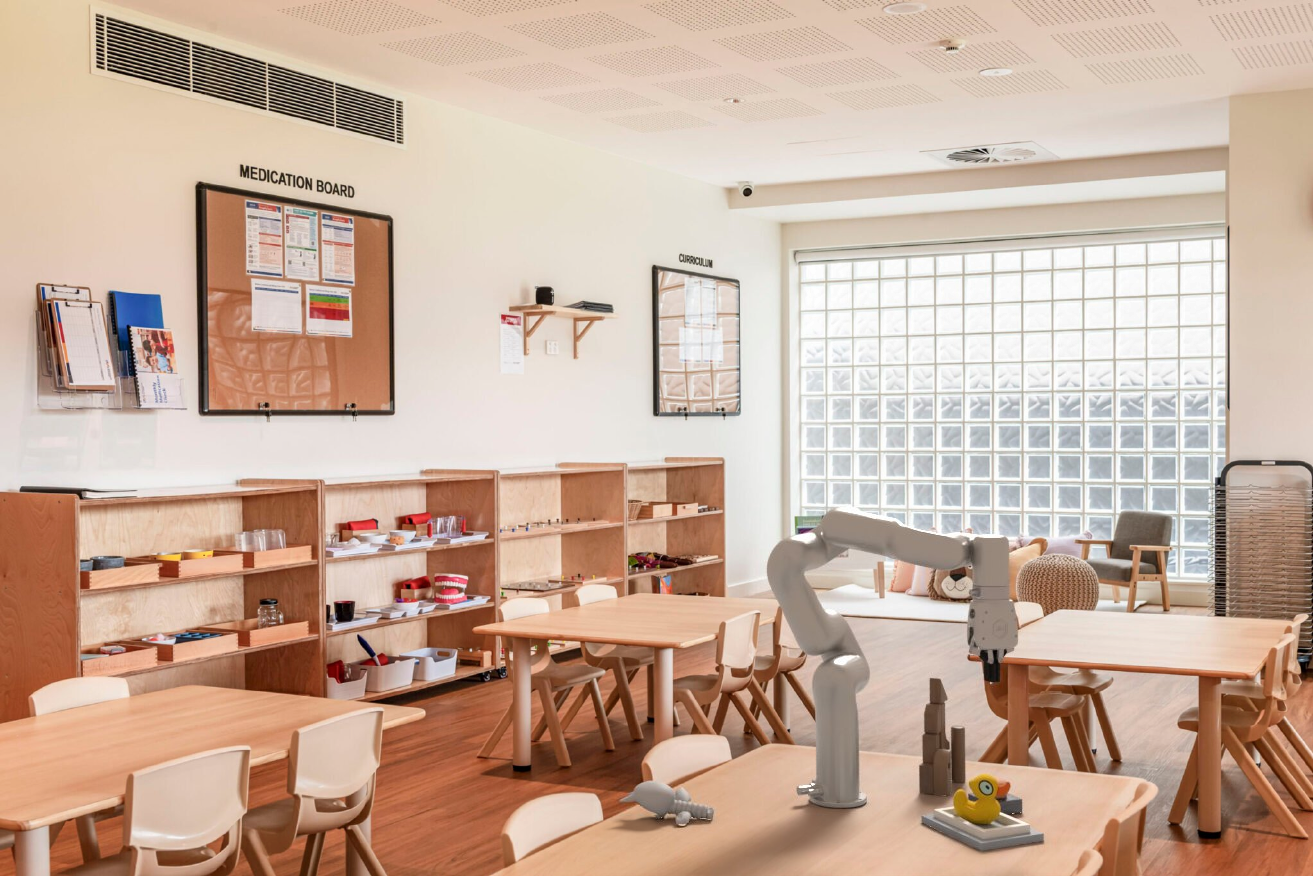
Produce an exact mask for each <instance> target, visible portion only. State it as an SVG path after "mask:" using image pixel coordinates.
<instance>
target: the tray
mask: <svg viewBox="0 0 1313 876" xmlns="http://www.w3.org/2000/svg"><path fill="white" fill-rule="evenodd" d="M920 817H921V819H920V821H921V822H922V823H921V824H923V823H924V825H925V824H926V826H927V825H928V827H930V826H931V827H930V828H931V829H934V828H935V829H934V830H936V829H937V830H936V831H938V832H940V831H941V832H940V833H942V834H944V833H945V835H946V834H947V836H949V837H951V838H953V837H954V838H953V839H955V838H956V840H957V839H958V840H957V841H959V840H960V841H959V842H961V843H963V842H964V844H966V845H968V846H971V848H974V847H975V849H976V850H978V851H980V852H983V851H988V850H989V851H990V849H991V850H996V849H1002V848H1001V847H1003V848H1009V847H1014V846H1013V845H1016V846H1021V845H1020V844H1022V845H1027V843H1029V844H1032V843H1031V842H1035V843H1040V842H1039V841H1041V842H1044V841H1045V840H1044V838H1045V837H1044V835H1045V834H1044V832H1041V831H1038V830H1036V829H1034V828H1032V827H1031V824H1030V823H1028V822H1025V821H1022V820H1020V819H1019V818H1015V817H1013V816H1012V815H1006V814H1004V813H1001V812H1000V814H999V816H998V817H997V818H996V819H995V820H994V821H993V822H991V823H989V824H976V823H971V822H968V821H966V820H964V819H962V818H961V817H959V816H958V815H957V813H956V812H955V809H954V806H949V807H943V808H935V809H933V813H928V814H922V815H921V816H920Z"/></svg>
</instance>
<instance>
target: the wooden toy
mask: <svg viewBox="0 0 1313 876" xmlns="http://www.w3.org/2000/svg"><path fill="white" fill-rule="evenodd" d="M948 699H949V698H948V695H947V692H946V690H945V687H944V684H943V681H942V680H941V678H938V677H930V678H929V702H927V703H926V704H925V708H924V712H923V719H924V720H923V725H924V726H923V731H924V733H923V734H922V735H921V736H922V738H921V739H922V763H920V764H919V765H918V770H919V771H918V772H919V773H918V775H919V776H918V777H919V780H918V781H919V783H918V784H919V786H918V788H919V793H920V794H923V793H924V794H925V795H930V794H933V795H934V794H936V796H941V795H946V796H945V797H948V796H949V795H951V794H952V782H953V783H956V784H963V783H965V782H966V728H965V726H962V725H952V726H950V741H949V740H948V739H947V734H946V703H945V702H946V701H948ZM950 793H951V794H950Z"/></svg>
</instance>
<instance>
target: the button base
mask: <svg viewBox="0 0 1313 876" xmlns="http://www.w3.org/2000/svg"><path fill="white" fill-rule="evenodd" d="M967 798H968V800H970V801H972V802H976V801H977V800H978V798H977V797H976V796H975V795H974V794H973V792H970V793H967ZM995 799H996V800H997V801H998V803H999V804H1000V807H1001V811H1000V812H1001V813H1004V814H1006V815H1008V814H1012V813H1019V814H1021V813H1020V812H1022V813H1023V798H1021V797H1019V796H1015V795H1013V794H1011V793H1009V792H1008V793H1007V797H1005V798H999V799H997V798H995ZM1012 815H1013V814H1012Z"/></svg>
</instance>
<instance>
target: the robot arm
mask: <svg viewBox="0 0 1313 876" xmlns="http://www.w3.org/2000/svg"><path fill="white" fill-rule="evenodd" d="M1009 542H1010V541H1009V539H1008V537H1007V536H1006V535H1002V534H993V533H992V534H989V533H988V534H985V533H984V534H972V533H965V532H956V531H955V532H950V533H946V534H943V533H936V532H932V531H926V530H921V529H918V528H914V527H911V526H908V525H905V524H904V523H902V522H901V521H900V520H899V519H897V518H893V517H890V516H885V515H884V516H883V515H880V514H879V515H878V514H874V513H869V512H863V510H861V509H860V508H858V507H856V506H855V507H854V506H843V507H842V506H841V507H835V508H832V509H830V510H828V511H827V512H826V513H825V514H823V516H822V518H821V521H820V524H818V525H817V526H814V528H812V529H810V530H809V531H808V532H804V533H799V534H798V533H797V534H793V535H789V536H786V537H784V538H782V540H780V541H778V542H777V544H776V545H775V546H774V548H773V549H772V550H771V552H770V553H769V556H768V559H767V564H766V577H767V581H768V584H769V586H770V588H771V591H772V593H773V596H774V597H775V598H776V600H777V603H778V605H779V607H780V610H781V611H782V613H783V615H784V617H785V620H786V622H787V624H788V627H789V628H790V630H791V631H790V632H791V633H792V634H793V637H794V638H795V641H796V643H797V645H798V647H799V649H801V651H802V652H804V654H806V655H808V656H812V657H817V656H820V658H821V659H822V662H821V663H820V664H819V665H818V666H817V667H816V668H815V670H814V673H813V675H812V680H811V688H812V695H813V702H814V711H815V719H814V720H815V762H816V763H815V765H816V766H815V771H816V774H815V775H816V776H815V777H816V778H813V779H811V783H809V784H808V785H799V786H797V787H796V794H797V795H798V796H805V795H807V796H808V797H809V801H810V802H811V803H813V804H814V805H818V806H820V807H825V808H826V807H827V808H835V809H843V808H844V809H849V808H855V807H860V806H863V805H865V804H866V803H867V801H868V798H867V794H865V793H864V791H863V792H862V791H860V790H861V789H860V785H861V784H860V721H859V718H860V717H859V711H858V710H859V708H858V703H857V698H856V697H857V696H856V695H857V694H859V693H860V692H861V691H863V690H864V689H865V688H866V687H867V686H868V683H869V682H870V678H871V670H870V666H869V663H868V660H867V659H866V655H865V654H864V652H863V650H862V648H861V646H860V644H859V642H858V640H857V638H856V635H854V632H853V630H852V628H851V626H850V624H849V623H848V621H847V620H846V618H845V617H844V616H843V615H841V614H840V613H839V612H837V610H836V611H835V610H834V609H828V608H823V606H822V604H821V602H820V600H819V597H818V596H817V594H816V591H815V590H814V588H813V586H812V585H811V583H809V581H808V580H807V579H806V576H805V572H808V571H813V570H816V569H818V568H821V567H822V566H825V565H826V564H828V563H829V562H831V561H832V560H833V559H836V558H837V557H839V556H841V555H842V554H843V553H845V552H847V551H848V550H855V551H861V552H865V553H870V554H874V555H878V556H883V557H887V558H889V559H891V560H897V561H900V562H904V563H907V564H911V565H915V566H919V567H924V568H929V569H933V570H939V571H946V572H947V571H948V572H951V571H953V570H956V569H960V568H964V567H971V569H972V571H971V572H972V579H971V580H972V587H971V588H972V589H969V590H968V595H969V596H970V597H972V600H970V601H969V606H968V607H969V608H968V614H967V623H966V624H967V627H966V638H967V639H966V641H967V645H968V646H969V649H968V653H969V655H973V656H978V658H979V659H980V661H981V662H982V663H983V677H984V678H983V680H984V681H985V682H988V683H992V684H994V683H1000V682H1001V663H1003V661H1004V658H1005V657H1006V655H1007V654H1010V653H1013V652H1014V651H1015V647H1017V645H1018V644H1019V631H1018V630H1019V629H1018V619H1017V618H1018V617H1017V613H1016V612H1017V611H1016V608H1015V603H1014V600H1013V599H1011V596H1010V590H1011V589H1010V587H1011V586H1010V584H1011V583H1010V543H1009Z"/></svg>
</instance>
